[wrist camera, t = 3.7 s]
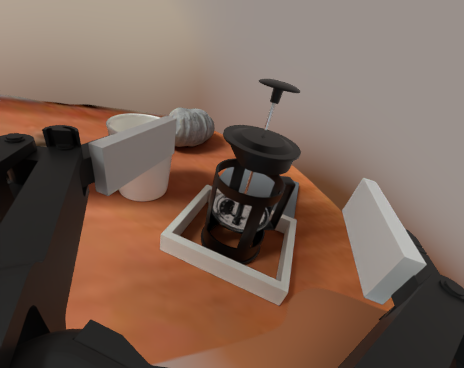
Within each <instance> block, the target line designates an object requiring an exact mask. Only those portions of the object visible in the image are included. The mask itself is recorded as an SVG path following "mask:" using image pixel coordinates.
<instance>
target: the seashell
mask: <svg viewBox="0 0 464 368" xmlns="http://www.w3.org/2000/svg"><path fill="white" fill-rule="evenodd" d="M169 116H170V117H173V118H176V119H177V121H176V135H175V146H178V147H181V146H191V147H192V146H196V145H198V144H202V143H204V142H205V141H206V140H208V139H209V138H210V137H211V136H212V135H213V133H214V122H213V120H212V119H211V118H210V117H209V116H208V114H207V113H206V112H205V111H203V110H200V109H185V108H177V109H175V110H173V111H172V112H171V113H170V115H169Z"/></svg>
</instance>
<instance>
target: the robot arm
mask: <svg viewBox="0 0 464 368" xmlns="http://www.w3.org/2000/svg"><path fill="white" fill-rule="evenodd" d="M176 121H177V119H176V118H173V117H170V116H165V117H162V118H159V119H156V120H153V121H150V122H147V123H145V124H142V125H139V126H136V127H133V128H130V129H127V130H124V131H121V132H119V133H116V134H111V135H109V136H106V137H103V138H100V139H97V140H94V141H91V142H88V143H85V144H82V145H81V143H80V137H79V132H78V129H77V128H75V127H72V126H66V125H55V126H49V127H45V128H44V129H42V131H43V134H44V138H45V142H46V145H47V147H40V146H36V144H35V141H34V138H33V137H32V136H30V135H26V134H19V133H14V134H13V133H11V134H8V135H3V136H0V368H166V367H159V366H153V365H150V364H149V363H148V362H147V361H146V360H145V359H144V358H143V357H142V356H141V355H140V354H139V353H138V352H137V351H136V350H135V348H134V347H133V346H132V345H131V344H130V343H129V342H128V341H127V340H126V339H125V338H124V337H123V335H121V334H119V333H117V332H115V331H113V330H111V329H109V328H107V327H105V326H103V325H101V324H99V323H97V322H95V321H93V320H90V321H89V322H88V323H87V324H86V326H85V327H84V328H83V329H67V330H66V322H65V314H66V307H67V302H68V297H69V292H70V287H71V282H72V277H73V272H74V266H75V261H76V256H77V251H78V246H79V241H80V236H81V231H82V226H83V220H84V215H85V210H86V205H87V200H88V195H89V187H88V185H89V184H91V183H93V182H95V188H96V191H97V192H99V193H102V194H105V195H107V196H109V195H111V194H112V193H114V192H115V191H117V190H118V189H120V188H121V187H123V186H124V185H126V184H127V183H129V182H131V181H132V180H134V179H135V178H137V177H138V176H140V175H141V174H143V173H144V172H146V171H148V170H149V169H151V168H152V167H154V166H155V165H157V164H158V163H160V162H161V161H163V160H164V159H166V158H168V157H169V156H171V155H172V154H174V149H175V135H176ZM7 173H8V176H9V178H10V180H9V181H8V182H7V180H6V174H7ZM342 212H343V216H344V220H345V224H346V228H347V232H348V236H349V240H350V244H351V248H352V252H353V256H354V260H355V263H356V267H357V271H358V275H359V279H360V283H361V287H362V291H363V295H364V298H367V299H369V300H372V301H374V302H377V303H379V304H382V305H383V304H384V303H385V302H386V301H387V300H388V299H389V298H390V297H392V300H393V302H394V305H395V306H394V307H393V308H391V309H390V310H389V311H388V312H387V313H386V314H384V315H383V316H382V317H381V318H380V319H379V320H380V321H379V322H378V324H377V325H376V326H375V327H374V328H373V329H372V330H371V331H370V332H369V333H368V335H367V336H366V337H365V338H364V339H363V340H362V341H361V342H360V343H359V345H358V346H357V347H356V348H355V349H354V350H353V351H352V352H351V353H350V354H349V356H348V357H347V358H346V359H345V360H344V361H343V362H342V363H341V364H340V366H339V367H338V368H464V289H463V288H462V287H461V286H460V285H458V284H457V283H455V282H454V281H453V280H451V279H449V278H447V277H445V276H442V275H440V274H439V272H438V270H437V269H436V267H435V266H434V264H433V263H432V261H431V260H430V258H429V256H428V255H426V252H425V250H424V249H423V248H422V246H421V244H420V243H419V241H418V240H417V238H416V237H415V236H413V234H412V233H410V232H409V231H408V230H406V229H405V228H404V227H403V226H402V223H401V222H400V220H399V219H398V217H397V215H396V214H395V212H394V210H393V209H392V207H391V206H390V204H389V202H388V201H387V199H386V197H385V196H384V194H383V193H382V191H381V189H380V188H379V186H378V184H377V183H376V182H375V181H372V180H369V179H366V178H363V179H362V180H361V182H360V184H359V185H358V187H357V188H356V190H355V192H354V193H353V195H352V196H351V198H350V199H349V201H348V203H347V204H346V206H345V207H344V209H343V210H342Z"/></svg>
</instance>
